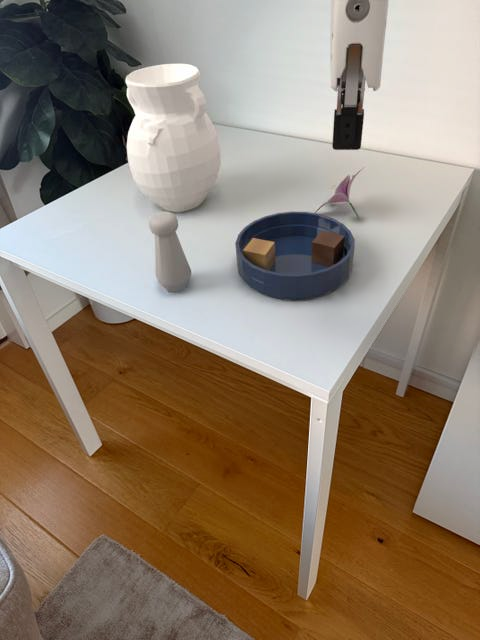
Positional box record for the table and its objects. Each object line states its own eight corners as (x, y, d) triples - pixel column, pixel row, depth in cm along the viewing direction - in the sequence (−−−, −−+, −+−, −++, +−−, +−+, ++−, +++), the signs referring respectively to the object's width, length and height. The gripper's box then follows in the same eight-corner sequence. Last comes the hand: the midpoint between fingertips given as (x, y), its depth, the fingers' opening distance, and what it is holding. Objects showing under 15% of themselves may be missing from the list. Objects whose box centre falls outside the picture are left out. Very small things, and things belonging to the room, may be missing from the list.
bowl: (352, 237, 87) (354, 213, 84) (351, 305, 73) (354, 279, 70) (248, 234, 90) (246, 210, 87) (228, 298, 76) (225, 272, 73)
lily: (361, 201, 99) (341, 159, 95) (395, 203, 88) (375, 156, 84) (315, 234, 97) (293, 193, 94) (344, 240, 87) (321, 194, 83)
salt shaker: (172, 271, 83) (159, 203, 74) (199, 280, 81) (189, 210, 72) (151, 290, 79) (134, 220, 71) (179, 299, 77) (165, 229, 68)
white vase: (242, 190, 104) (232, 63, 87) (189, 231, 93) (167, 94, 76) (175, 174, 112) (155, 56, 96) (120, 210, 101) (86, 82, 84)
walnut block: (343, 256, 82) (344, 235, 79) (333, 268, 79) (334, 247, 77) (321, 250, 84) (322, 230, 81) (311, 261, 81) (311, 241, 79)
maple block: (275, 261, 82) (274, 241, 79) (266, 275, 79) (265, 254, 77) (254, 257, 83) (252, 237, 81) (244, 270, 81) (242, 250, 78)
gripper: (411, -46, 38) (382, 176, 50) (399, -62, 48) (377, 123, 61) (314, -39, 39) (309, 175, 51) (324, -56, 50) (317, 123, 62)
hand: (346, 146), depth 56 cm, fingers closed
